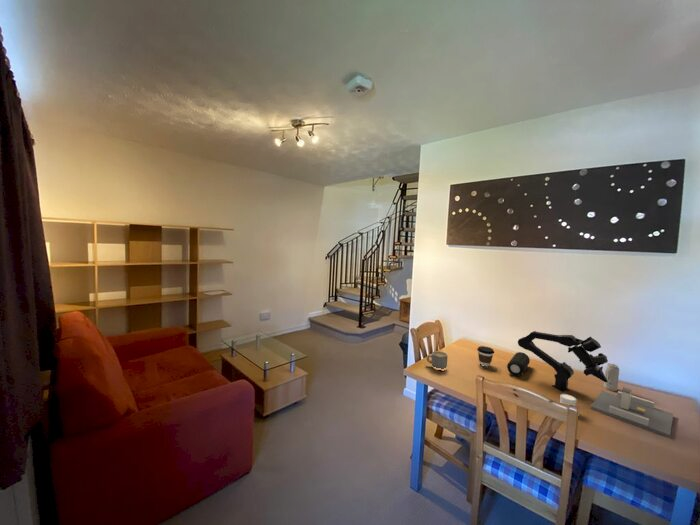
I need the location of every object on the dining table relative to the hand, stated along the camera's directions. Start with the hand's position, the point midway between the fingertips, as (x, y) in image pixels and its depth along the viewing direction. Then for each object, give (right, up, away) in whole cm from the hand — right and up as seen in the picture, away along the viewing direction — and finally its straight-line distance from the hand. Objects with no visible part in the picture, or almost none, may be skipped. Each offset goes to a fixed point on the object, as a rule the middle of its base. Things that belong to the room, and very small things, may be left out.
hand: (606, 382), depth 156 cm
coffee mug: (-81, -7, +40) cm, 91 cm away
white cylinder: (-27, -12, -7) cm, 30 cm away
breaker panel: (+6, -13, -7) cm, 16 cm away
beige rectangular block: (+5, -11, -5) cm, 13 cm away
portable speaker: (-25, -9, +40) cm, 48 cm away
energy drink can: (+18, -12, +18) cm, 28 cm away
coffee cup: (-45, -8, +46) cm, 65 cm away
